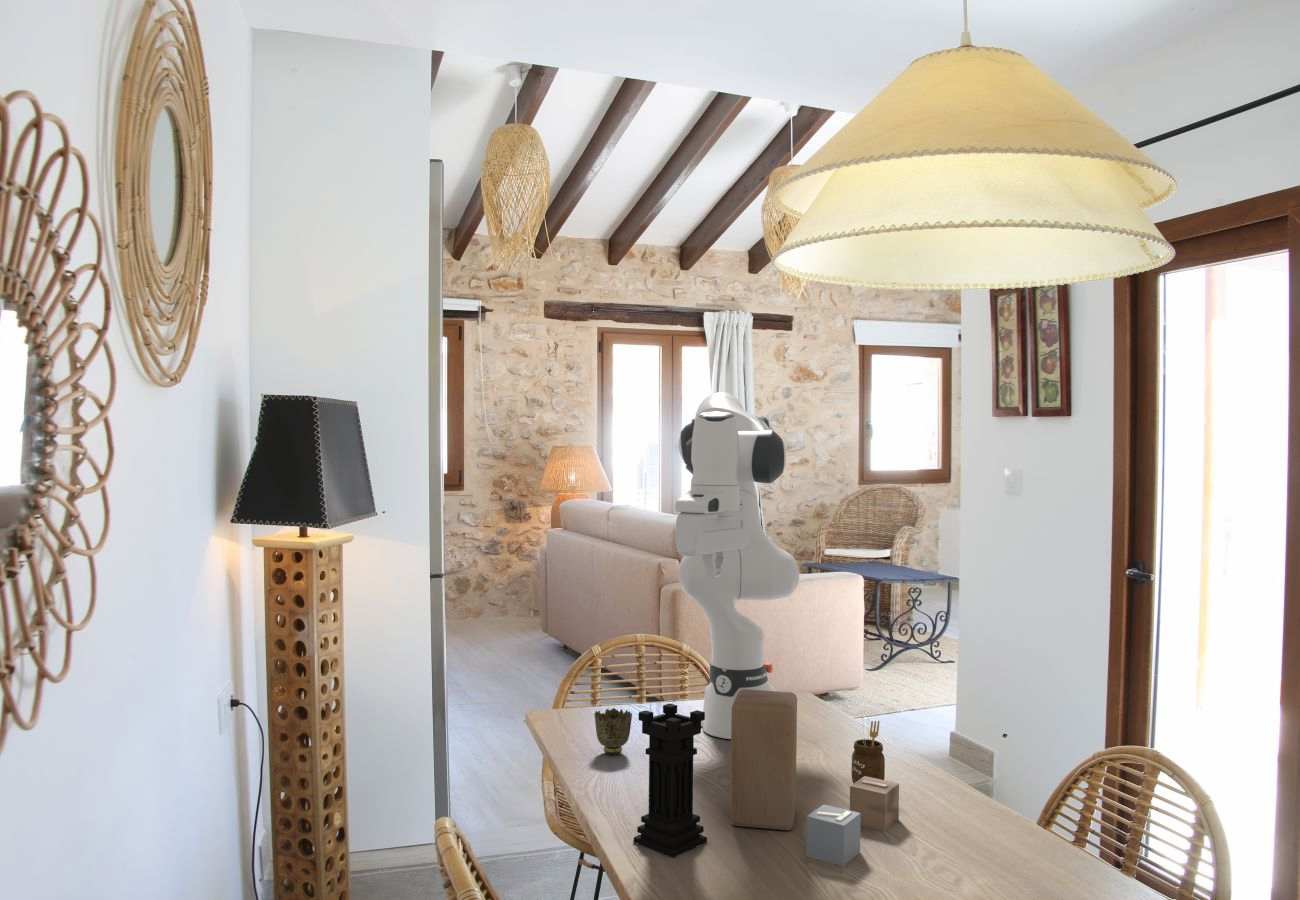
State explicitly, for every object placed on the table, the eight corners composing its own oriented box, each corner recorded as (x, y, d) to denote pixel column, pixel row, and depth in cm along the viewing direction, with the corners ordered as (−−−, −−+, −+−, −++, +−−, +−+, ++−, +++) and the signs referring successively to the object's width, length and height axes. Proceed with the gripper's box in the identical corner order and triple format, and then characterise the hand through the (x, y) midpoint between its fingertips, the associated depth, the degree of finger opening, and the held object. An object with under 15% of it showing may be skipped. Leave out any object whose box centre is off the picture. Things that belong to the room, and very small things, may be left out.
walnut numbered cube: (864, 811, 163) (864, 774, 163) (898, 820, 159) (899, 782, 159) (849, 822, 158) (850, 784, 158) (884, 831, 154) (885, 792, 154)
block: (792, 833, 153) (794, 706, 153) (729, 827, 155) (731, 702, 155) (796, 810, 163) (797, 691, 163) (736, 805, 165) (737, 687, 165)
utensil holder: (876, 775, 181) (877, 710, 181) (890, 787, 174) (891, 720, 174) (846, 776, 180) (847, 711, 180) (859, 788, 173) (859, 721, 173)
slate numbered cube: (823, 843, 150) (823, 802, 150) (860, 852, 146) (860, 811, 146) (806, 856, 145) (806, 814, 145) (843, 866, 141) (844, 823, 141)
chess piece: (633, 842, 149) (634, 712, 149) (668, 827, 155) (669, 702, 155) (672, 858, 143) (674, 722, 143) (707, 842, 149) (708, 712, 149)
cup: (619, 745, 197) (619, 706, 197) (638, 755, 191) (639, 714, 191) (587, 751, 193) (587, 711, 193) (606, 761, 187) (606, 720, 186)
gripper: (729, 498, 186) (728, 570, 186) (669, 502, 170) (668, 581, 170) (758, 499, 183) (757, 572, 183) (700, 503, 166) (699, 584, 166)
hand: (714, 577), depth 176 cm, fingers closed
